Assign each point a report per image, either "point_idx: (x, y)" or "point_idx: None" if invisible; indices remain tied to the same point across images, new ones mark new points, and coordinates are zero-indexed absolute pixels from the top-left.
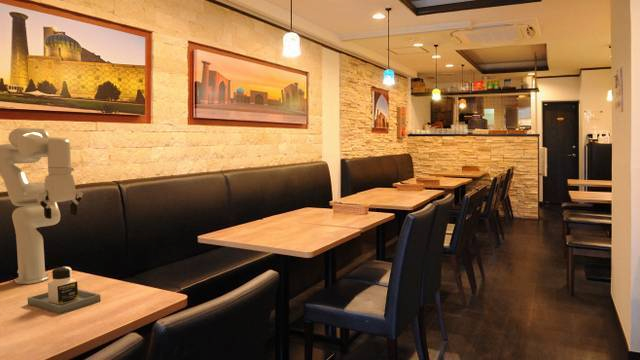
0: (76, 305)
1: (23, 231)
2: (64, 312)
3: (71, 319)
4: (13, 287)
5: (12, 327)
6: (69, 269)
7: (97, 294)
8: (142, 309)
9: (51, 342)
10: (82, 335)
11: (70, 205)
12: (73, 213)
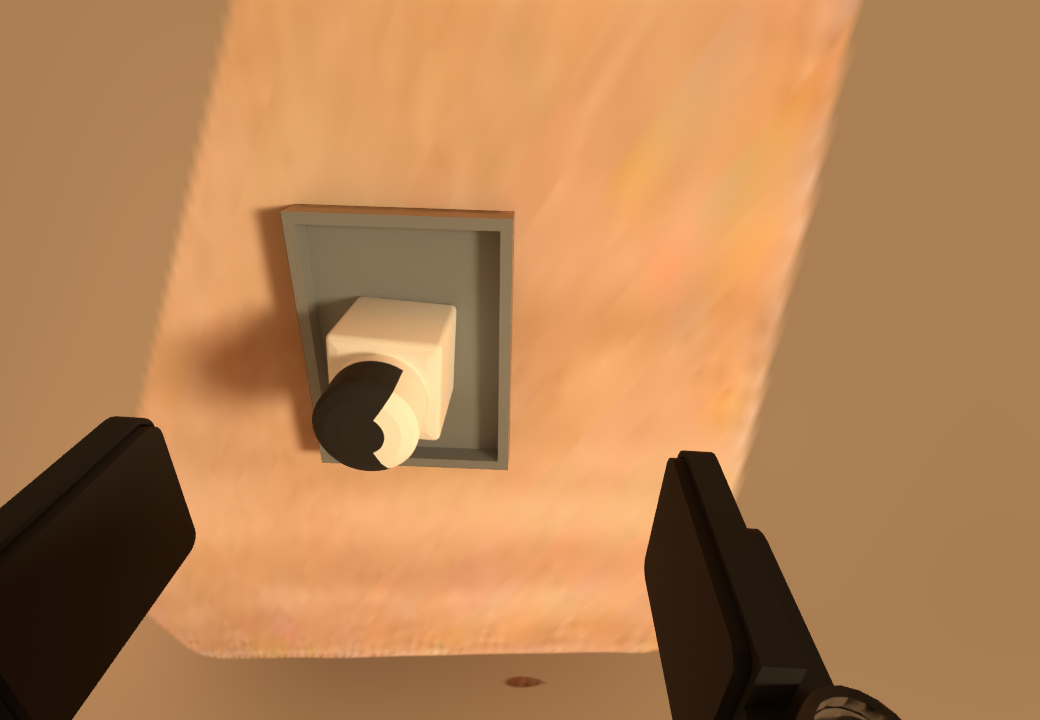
0: None
1: None
2: None
3: (333, 516)
4: None
5: (162, 419)
6: (391, 467)
7: (503, 458)
8: (522, 619)
9: (216, 602)
10: (294, 627)
11: (725, 644)
12: (654, 558)
